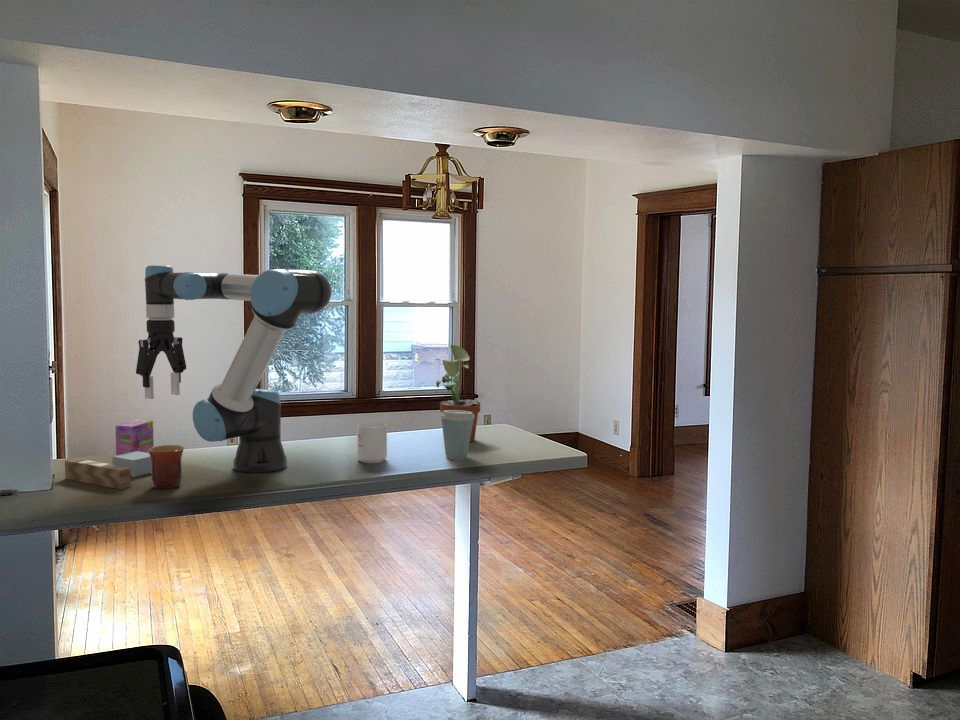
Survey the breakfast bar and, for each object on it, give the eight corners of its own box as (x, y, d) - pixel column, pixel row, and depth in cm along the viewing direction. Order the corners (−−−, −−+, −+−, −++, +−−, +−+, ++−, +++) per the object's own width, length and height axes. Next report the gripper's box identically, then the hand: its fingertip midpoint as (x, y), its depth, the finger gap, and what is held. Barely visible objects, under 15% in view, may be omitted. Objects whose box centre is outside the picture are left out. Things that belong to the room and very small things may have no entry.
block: (158, 472, 222) (158, 454, 221) (134, 478, 215) (133, 460, 214) (137, 468, 226) (137, 451, 226) (112, 473, 219) (112, 456, 219)
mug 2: (391, 461, 237) (392, 425, 236) (365, 465, 232) (365, 428, 231) (373, 454, 247) (373, 419, 246) (348, 457, 242) (348, 422, 241)
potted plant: (429, 438, 274) (430, 338, 270) (469, 435, 280) (470, 338, 277) (447, 446, 260) (448, 342, 256) (488, 443, 266) (489, 341, 263)
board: (130, 486, 205) (129, 467, 204) (120, 489, 202) (120, 469, 202) (75, 476, 215) (74, 457, 214) (65, 478, 212) (64, 459, 211)
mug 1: (179, 490, 202) (178, 452, 200) (144, 491, 201) (143, 452, 200) (192, 479, 213) (191, 442, 212) (159, 479, 213) (158, 442, 212)
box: (133, 465, 228) (132, 426, 226) (115, 464, 229) (114, 425, 228) (154, 458, 238) (153, 420, 237) (138, 457, 239) (137, 419, 238)
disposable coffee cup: (448, 452, 251) (448, 406, 249) (479, 455, 247) (480, 409, 246) (434, 459, 241) (435, 411, 240) (467, 462, 237) (467, 414, 236)
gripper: (180, 317, 236) (182, 391, 238) (119, 320, 217) (122, 400, 219) (198, 318, 233) (200, 393, 235) (138, 320, 214) (140, 402, 216)
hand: (162, 396), depth 227 cm, fingers open, 9 cm apart
